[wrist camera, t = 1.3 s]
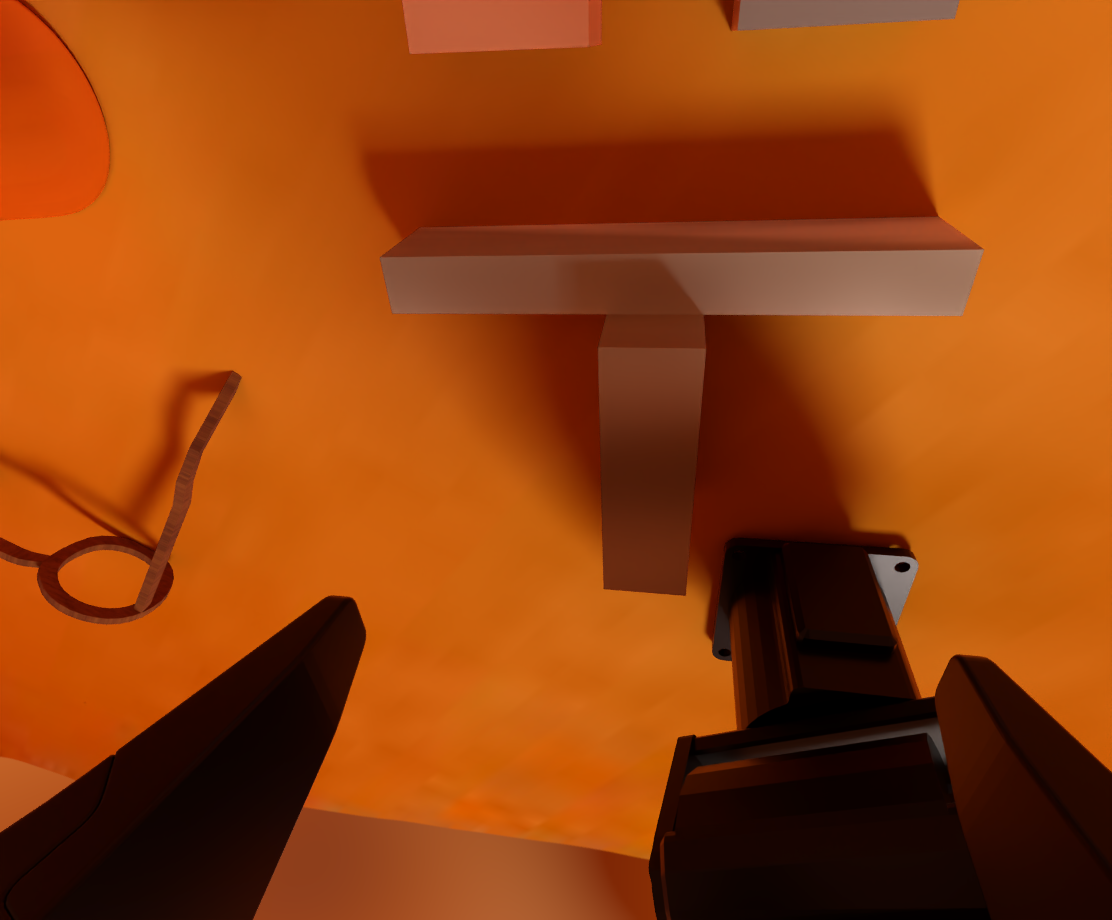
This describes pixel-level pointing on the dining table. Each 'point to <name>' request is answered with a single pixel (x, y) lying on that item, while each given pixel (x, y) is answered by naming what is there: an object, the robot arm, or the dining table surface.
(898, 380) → the dining table surface
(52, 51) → the beer glass
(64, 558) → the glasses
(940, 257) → the scraper
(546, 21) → the terracotta tile
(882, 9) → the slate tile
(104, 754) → the dining table surface
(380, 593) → the dining table surface
